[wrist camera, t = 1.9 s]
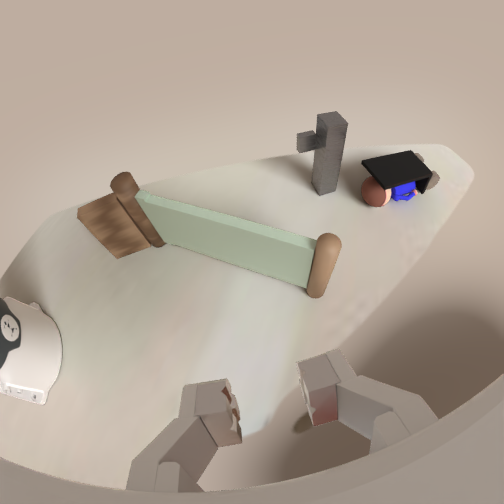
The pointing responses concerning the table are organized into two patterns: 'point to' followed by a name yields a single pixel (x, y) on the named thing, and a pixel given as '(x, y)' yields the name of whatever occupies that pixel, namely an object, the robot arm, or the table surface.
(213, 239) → the gate
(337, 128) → the latch post
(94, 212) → the wooden hinge block
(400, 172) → the figurine character
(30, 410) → the table surface
